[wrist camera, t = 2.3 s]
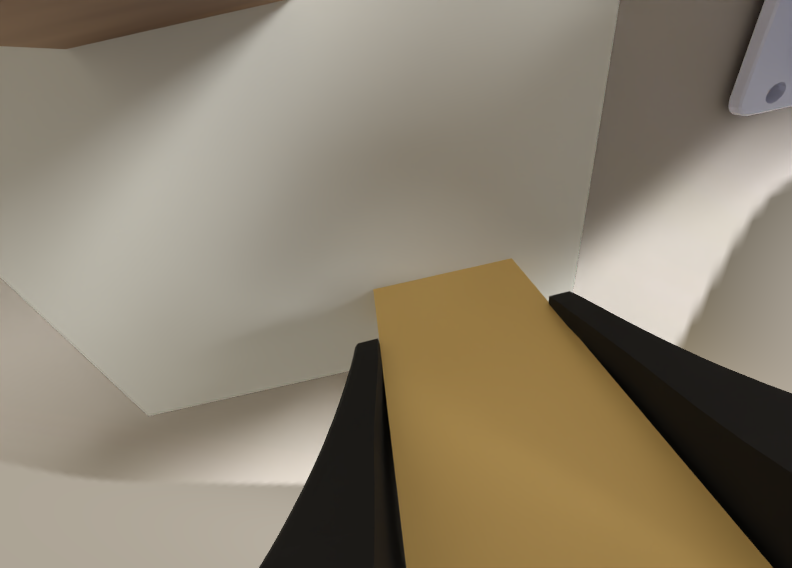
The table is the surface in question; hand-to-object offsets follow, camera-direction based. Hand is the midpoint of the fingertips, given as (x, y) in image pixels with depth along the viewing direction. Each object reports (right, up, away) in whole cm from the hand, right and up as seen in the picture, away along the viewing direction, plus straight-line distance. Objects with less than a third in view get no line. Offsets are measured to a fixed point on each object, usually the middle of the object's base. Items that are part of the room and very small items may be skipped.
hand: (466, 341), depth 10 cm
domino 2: (0, +1, +2) cm, 3 cm away
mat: (-7, +12, -5) cm, 14 cm away
